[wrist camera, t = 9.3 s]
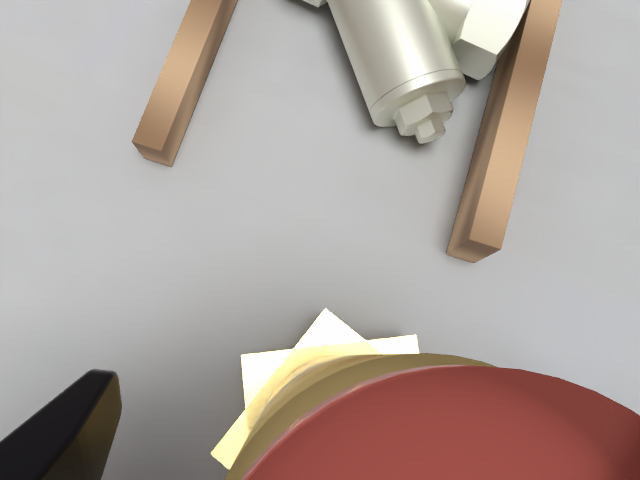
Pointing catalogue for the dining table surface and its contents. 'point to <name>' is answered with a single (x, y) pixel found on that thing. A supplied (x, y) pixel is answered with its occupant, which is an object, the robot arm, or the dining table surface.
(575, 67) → the dining table surface
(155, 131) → the u-shaped wooden frame
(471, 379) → the red-topped star-based cylinder
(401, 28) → the pipe fitting
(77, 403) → the robot arm
